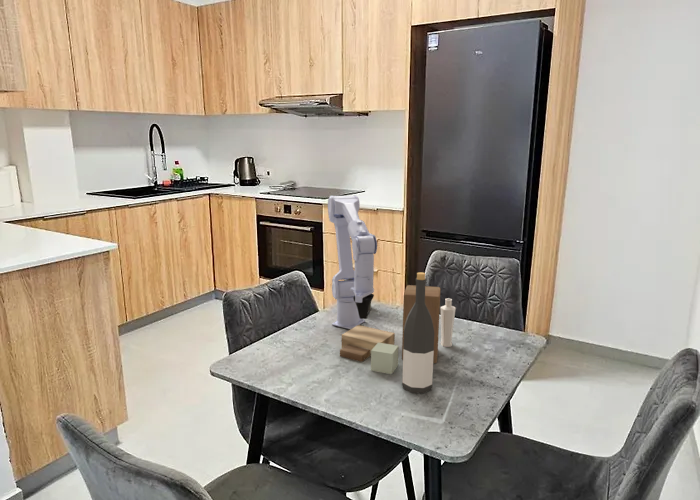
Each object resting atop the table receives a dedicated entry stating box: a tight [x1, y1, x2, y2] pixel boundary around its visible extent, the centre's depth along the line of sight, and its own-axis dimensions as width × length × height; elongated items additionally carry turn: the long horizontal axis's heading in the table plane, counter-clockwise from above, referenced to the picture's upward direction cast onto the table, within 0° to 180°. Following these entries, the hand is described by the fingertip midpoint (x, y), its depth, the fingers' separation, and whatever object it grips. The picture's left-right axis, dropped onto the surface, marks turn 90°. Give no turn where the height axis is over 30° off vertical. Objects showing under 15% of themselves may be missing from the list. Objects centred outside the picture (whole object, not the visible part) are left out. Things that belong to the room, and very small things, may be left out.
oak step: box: [341, 324, 396, 350], centre depth 148 cm, size 10×13×4 cm
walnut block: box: [339, 344, 371, 363], centre depth 142 cm, size 2×8×5 cm
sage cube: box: [370, 343, 400, 375], centre depth 134 cm, size 6×6×6 cm
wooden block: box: [401, 284, 441, 364], centre depth 141 cm, size 10×10×20 cm
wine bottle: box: [401, 271, 434, 394], centre depth 121 cm, size 8×8×30 cm
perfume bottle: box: [440, 297, 457, 348], centre depth 149 cm, size 5×4×15 cm
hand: (363, 318), depth 148 cm, fingers closed
